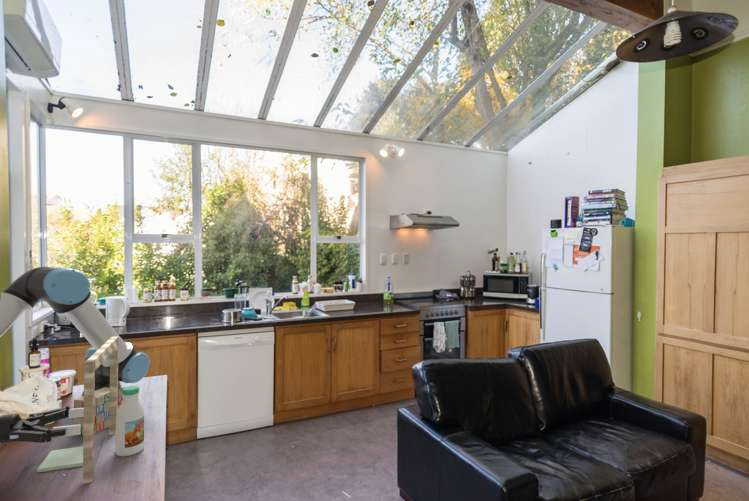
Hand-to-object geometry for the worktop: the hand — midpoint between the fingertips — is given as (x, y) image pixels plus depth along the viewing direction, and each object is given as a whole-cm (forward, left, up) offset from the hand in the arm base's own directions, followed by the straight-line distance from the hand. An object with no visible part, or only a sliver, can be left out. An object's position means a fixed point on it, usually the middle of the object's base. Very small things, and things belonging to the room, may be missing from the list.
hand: (87, 419), depth 125 cm
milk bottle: (-3, +11, -12) cm, 16 cm away
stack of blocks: (-25, -6, -12) cm, 28 cm away
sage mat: (+1, -5, -11) cm, 12 cm away
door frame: (-1, +4, -11) cm, 12 cm away
